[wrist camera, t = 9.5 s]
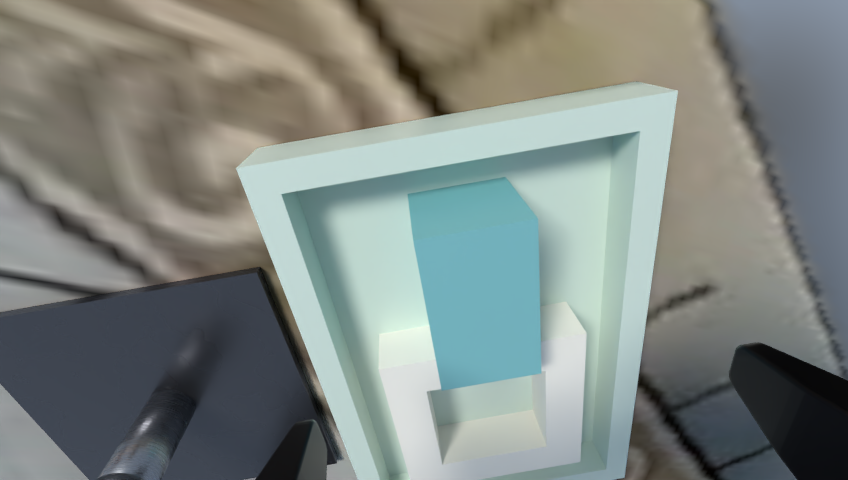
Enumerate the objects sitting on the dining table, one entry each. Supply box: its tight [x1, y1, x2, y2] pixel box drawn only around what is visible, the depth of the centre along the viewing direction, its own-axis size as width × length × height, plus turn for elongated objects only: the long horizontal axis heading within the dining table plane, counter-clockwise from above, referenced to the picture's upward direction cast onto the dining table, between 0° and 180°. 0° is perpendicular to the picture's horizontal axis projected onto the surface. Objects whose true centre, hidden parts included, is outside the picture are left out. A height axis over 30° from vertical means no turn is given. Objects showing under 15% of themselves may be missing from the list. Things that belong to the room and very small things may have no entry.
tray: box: [236, 81, 678, 480], centre depth 17 cm, size 19×13×2 cm
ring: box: [379, 177, 587, 480], centre depth 16 cm, size 14×8×4 cm, turn 9°
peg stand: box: [0, 267, 337, 480], centre depth 16 cm, size 12×12×6 cm
